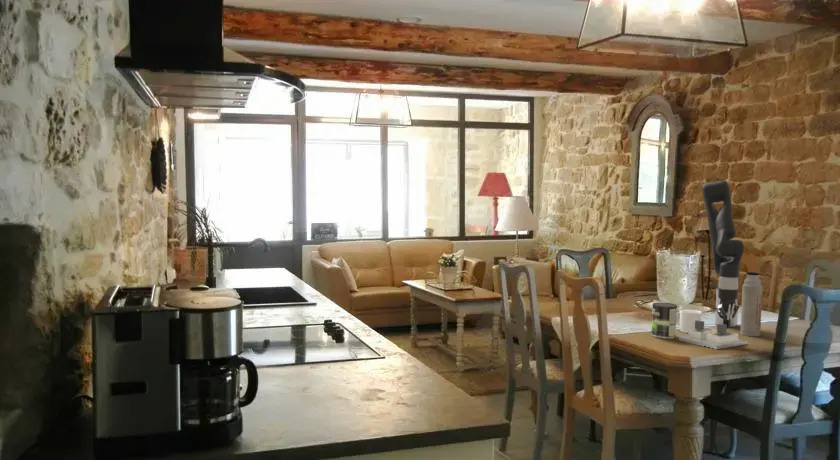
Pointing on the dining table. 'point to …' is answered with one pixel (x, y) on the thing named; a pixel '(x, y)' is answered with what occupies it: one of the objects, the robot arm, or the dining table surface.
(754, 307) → the thermos bottle
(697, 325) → the on breaker handle
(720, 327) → the breaker handle
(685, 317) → the mug
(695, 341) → the breaker panel
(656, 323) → the coffee can
